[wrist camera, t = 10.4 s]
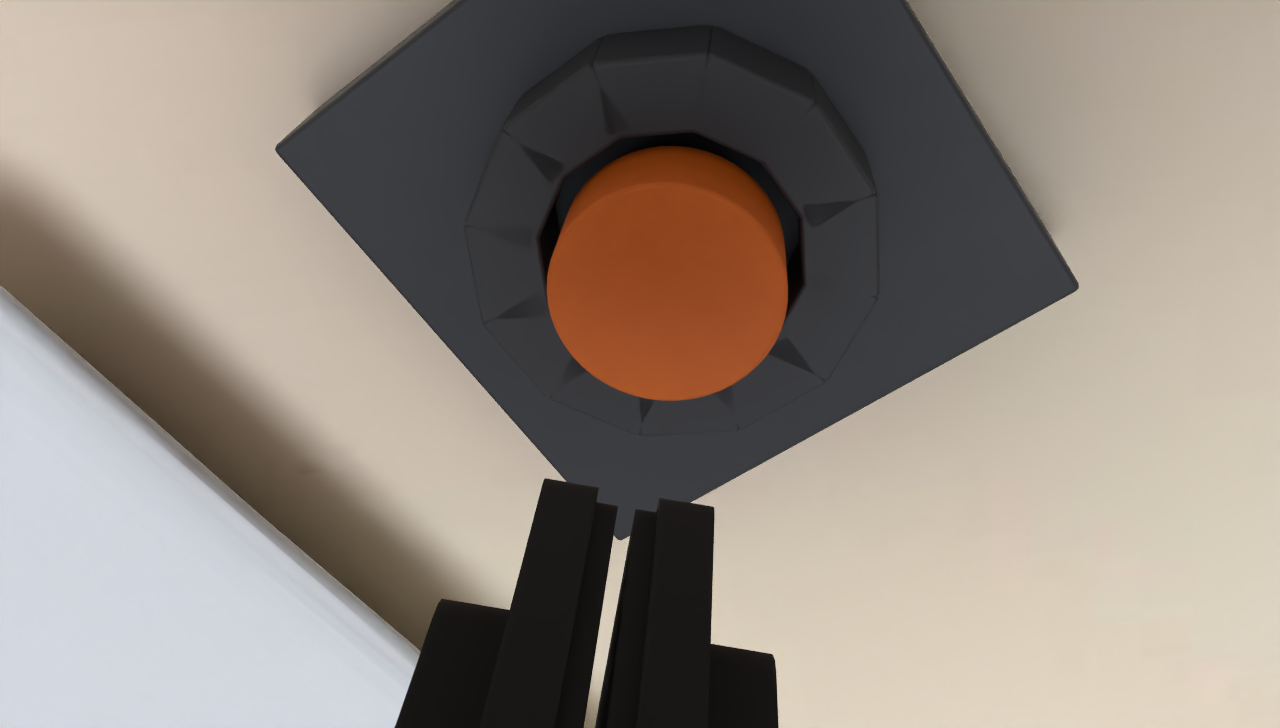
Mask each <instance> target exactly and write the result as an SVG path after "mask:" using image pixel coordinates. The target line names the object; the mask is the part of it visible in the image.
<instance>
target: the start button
mask: <svg viewBox="0 0 1280 728" xmlns="http://www.w3.org/2000/svg"><path fill="white" fill-rule="evenodd" d="M547 299H548V306H549V311H550V315H551V318H552V321H553V324H554V326H555V329H556V331H557V333H558V335H559V337H560V339H561V340H562V342H563V344H564V345H565V347H566V348H567V349H568V351H569V352H570V354H571V355H572V356H573V357H574V358H575V359H576V360H577V362H578V363H579V364H580V365H581V366H582V367H583V368H585V369H586V370H587V371H588V372H589V373H591V374H592V375H593V376H594V377H596V378H597V379H599V380H601V381H602V382H604V383H605V384H607V385H609V386H611V387H613V388H615V389H617V390H619V391H622V392H625V393H628V394H630V395H633V396H637V397H642V398H646V399H653V400H662V401H679V400H688V399H694V398H699V397H703V396H707V395H710V394H713V393H715V392H718V391H721V390H723V389H725V388H727V387H729V386H731V385H733V384H734V383H736V382H737V381H739V380H740V379H742V378H743V377H745V376H746V375H747V374H749V373H750V372H751V371H752V370H753V369H754V368H756V367H757V366H758V365H759V364H760V362H761V361H762V360H763V359H764V358H765V357H766V356H767V354H768V353H769V351H770V350H771V348H772V347H773V345H774V344H775V342H776V340H777V338H778V336H779V334H780V332H781V329H782V326H783V323H784V320H785V316H786V310H787V304H788V281H787V267H786V253H785V242H784V234H783V230H782V226H781V222H780V219H779V217H778V214H777V212H776V210H775V207H774V205H773V204H772V202H771V200H770V199H769V197H768V195H767V194H766V193H765V191H764V190H763V189H762V188H761V186H760V185H759V184H758V183H757V182H756V181H755V180H754V179H753V178H752V177H751V176H750V175H749V174H748V173H747V172H745V171H744V170H742V169H741V168H740V167H738V166H737V165H735V164H734V163H732V162H730V161H728V160H726V159H725V158H723V157H721V156H718V155H716V154H713V153H710V152H708V151H704V150H700V149H696V148H692V147H682V146H658V147H652V148H645V149H642V150H638V151H635V152H631V153H629V154H626V155H624V156H622V157H619V158H617V159H616V160H614V161H612V162H611V163H609V164H607V165H606V166H604V167H603V168H602V169H600V170H599V171H598V172H597V173H595V174H594V175H593V176H592V177H591V178H590V179H589V180H588V181H587V182H586V183H585V184H584V186H583V187H582V188H581V190H580V191H579V193H578V194H577V195H576V197H575V199H574V201H573V203H572V204H571V206H570V208H569V211H568V214H567V216H566V219H565V222H564V224H563V227H562V230H561V233H560V235H559V238H558V241H557V244H556V246H555V249H554V252H553V255H552V258H551V260H550V265H549V270H548V275H547Z"/></svg>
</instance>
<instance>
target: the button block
mask: <svg viewBox="0 0 1280 728" xmlns="http://www.w3.org/2000/svg"><path fill="white" fill-rule="evenodd" d="M658 146H682V147H692V148H696V149H700V150H704V151H708V152H710V153H713V154H716V155H718V156H721V157H723V158H725V159H726V160H728V161H730V162H732V163H734V164H735V165H737V166H738V167H740V168H741V169H742V170H744V171H745V172H747V173H748V174H749V175H750V176H751V177H752V178H753V179H754V180H755V181H756V182H757V183H758V184H759V185H760V186H761V188H762V189H763V190H764V191H765V193H766V194H767V195H768V197H769V199H770V200H771V202H772V204H773V205H774V207H775V210H776V212H777V214H778V217H779V219H780V222H781V226H782V230H783V234H784V242H785V253H786V267H787V281H788V304H787V310H786V316H785V320H784V323H783V326H782V329H781V332H780V334H779V336H778V338H777V340H776V342H775V344H774V345H773V347H772V348H771V350H770V351H769V353H768V354H767V356H766V357H765V358H764V359H763V360H762V361H761V362H760V364H759V365H758V366H757V367H756V368H754V369H753V370H752V371H751V372H750V373H749V374H747V375H746V376H745V377H743V378H742V379H740V380H739V381H737V382H736V383H734V384H733V385H731V386H729V387H727V388H725V389H723V390H721V391H718V392H715V393H713V394H710V395H707V396H703V397H699V398H694V399H688V400H679V401H662V400H653V399H646V398H642V397H637V396H633V395H630V394H628V393H625V392H622V391H619V390H617V389H615V388H613V387H611V386H609V385H607V384H605V383H604V382H602V381H601V380H599V379H597V378H596V377H594V376H593V375H592V374H591V373H589V372H588V371H587V370H586V369H585V368H583V367H582V366H581V365H580V364H579V363H578V362H577V360H576V359H575V358H574V357H573V356H572V355H571V354H570V352H569V351H568V349H567V348H566V347H565V345H564V344H563V342H562V340H561V339H560V337H559V335H558V333H557V331H556V329H555V326H554V324H553V321H552V318H551V315H550V311H549V306H548V299H547V275H548V270H549V265H550V260H551V258H552V255H553V252H554V249H555V246H556V244H557V241H558V238H559V235H560V233H561V230H562V227H563V224H564V222H565V219H566V216H567V214H568V211H569V208H570V206H571V204H572V203H573V201H574V199H575V197H576V195H577V194H578V193H579V191H580V190H581V188H582V187H583V186H584V184H585V183H586V182H587V181H588V180H589V179H590V178H591V177H592V176H593V175H594V174H595V173H597V172H598V171H599V170H600V169H602V168H603V167H604V166H606V165H607V164H609V163H611V162H612V161H614V160H616V159H617V158H619V157H622V156H624V155H626V154H629V153H631V152H635V151H638V150H642V149H645V148H652V147H658ZM275 150H276V152H277V154H278V155H279V156H280V157H281V158H282V159H283V160H284V162H285V163H286V164H287V165H288V166H289V167H290V168H291V170H292V171H293V172H294V173H295V174H296V175H297V176H298V177H299V179H300V180H301V181H302V182H303V183H304V184H305V185H306V187H307V188H308V189H309V190H310V191H311V192H312V193H313V195H314V196H315V197H316V198H317V199H318V200H319V201H320V202H321V204H322V205H323V206H324V207H325V208H326V209H327V210H328V212H329V213H330V214H331V215H332V216H333V217H334V218H335V219H336V221H337V222H338V223H339V224H340V225H341V226H342V227H343V229H344V230H345V231H346V232H347V233H348V234H349V235H350V236H351V238H352V239H353V240H354V241H355V242H356V243H357V244H358V246H359V247H360V248H361V249H362V250H363V251H364V252H365V253H366V255H367V256H368V257H369V258H370V259H371V260H372V261H373V263H374V264H375V265H376V266H377V267H378V268H379V269H380V270H381V272H382V273H383V274H384V275H385V276H386V277H387V278H388V280H389V281H390V282H391V283H392V284H393V285H394V286H395V287H396V289H397V290H398V291H399V292H400V293H401V294H402V295H403V297H404V298H405V299H406V300H407V301H408V302H409V303H410V304H411V306H412V307H413V308H414V309H415V310H416V311H417V312H418V314H419V315H420V316H421V317H422V318H423V319H424V320H425V321H426V323H427V324H428V325H429V326H430V327H431V328H432V329H433V331H434V332H435V333H436V334H437V335H438V336H439V337H440V339H441V340H442V341H443V342H444V343H445V344H446V345H447V346H448V348H449V349H450V350H451V351H452V352H453V353H454V354H455V356H456V357H457V358H458V359H459V360H460V361H461V362H462V363H463V365H464V366H465V367H466V368H467V369H468V370H469V371H470V373H471V374H472V375H473V376H474V377H475V378H476V379H477V380H478V382H479V383H480V384H481V385H482V386H483V387H484V388H485V390H486V391H487V392H488V393H489V394H490V395H491V396H492V397H493V399H494V400H495V401H496V402H497V403H498V404H499V405H500V407H501V408H502V409H503V410H504V411H505V412H506V413H507V414H508V416H509V417H510V418H511V419H512V420H513V421H514V422H515V424H516V425H517V426H518V427H519V428H520V429H521V430H522V431H523V433H524V434H525V435H526V436H527V437H528V438H529V439H530V441H531V442H532V443H533V444H534V445H535V446H536V447H537V448H538V450H539V451H540V452H541V453H542V454H543V455H544V456H545V458H546V459H547V460H548V461H549V462H550V463H551V464H552V465H553V467H554V468H555V469H556V470H557V471H558V472H559V473H560V475H561V476H562V477H563V478H564V479H565V480H566V481H567V482H569V483H575V484H581V485H587V486H593V487H598V488H599V490H598V497H597V502H598V503H604V504H610V505H616V506H618V509H617V516H616V522H615V528H614V536H615V537H616V538H617V539H618V540H623V539H625V538H627V537H628V536H630V534H631V529H632V524H633V518H634V513H635V509H640V510H646V511H652V512H656V509H657V505H658V501H659V498H664V499H670V500H675V501H681V502H687V503H690V502H692V501H694V500H696V499H698V498H699V497H701V496H703V495H705V494H707V493H709V492H710V491H712V490H714V489H716V488H718V487H720V486H721V485H723V484H725V483H727V482H729V481H730V480H732V479H734V478H736V477H738V476H740V475H741V474H743V473H745V472H747V471H749V470H751V469H752V468H754V467H756V466H758V465H760V464H761V463H763V462H765V461H767V460H769V459H771V458H772V457H774V456H776V455H778V454H780V453H782V452H783V451H785V450H787V449H789V448H791V447H792V446H794V445H796V444H798V443H800V442H802V441H803V440H805V439H807V438H809V437H811V436H813V435H814V434H816V433H818V432H820V431H822V430H823V429H825V428H827V427H829V426H831V425H833V424H834V423H836V422H838V421H840V420H842V419H843V418H845V417H847V416H849V415H851V414H853V413H854V412H856V411H858V410H860V409H862V408H864V407H865V406H867V405H869V404H871V403H873V402H874V401H876V400H878V399H880V398H882V397H884V396H885V395H887V394H889V393H891V392H893V391H895V390H896V389H898V388H900V387H902V386H904V385H905V384H907V383H909V382H911V381H913V380H915V379H916V378H918V377H920V376H922V375H924V374H926V373H927V372H929V371H931V370H933V369H935V368H936V367H938V366H940V365H942V364H944V363H946V362H947V361H949V360H951V359H953V358H955V357H957V356H958V355H960V354H962V353H964V352H966V351H967V350H969V349H971V348H973V347H975V346H977V345H978V344H980V343H982V342H984V341H986V340H988V339H989V338H991V337H993V336H995V335H997V334H998V333H1000V332H1002V331H1004V330H1006V329H1008V328H1009V327H1011V326H1013V325H1015V324H1017V323H1019V322H1020V321H1022V320H1024V319H1026V318H1028V317H1029V316H1031V315H1033V314H1035V313H1037V312H1039V311H1040V310H1042V309H1044V308H1046V307H1048V306H1049V305H1051V304H1053V303H1055V302H1057V301H1059V300H1060V299H1062V298H1064V297H1066V296H1068V295H1070V294H1071V293H1073V292H1075V291H1076V290H1077V289H1078V288H1079V284H1078V282H1077V280H1076V278H1075V277H1074V275H1073V273H1072V272H1071V270H1070V268H1069V266H1068V265H1067V263H1066V261H1065V260H1064V258H1063V256H1062V255H1061V253H1060V251H1059V249H1058V248H1057V246H1056V244H1055V243H1054V241H1053V239H1052V238H1051V236H1050V234H1049V233H1048V231H1047V229H1046V228H1045V226H1044V225H1043V223H1042V221H1041V220H1040V218H1039V216H1038V215H1037V213H1036V212H1035V210H1034V208H1033V207H1032V205H1031V203H1030V202H1029V200H1028V198H1027V197H1026V195H1025V194H1024V192H1023V190H1022V189H1021V187H1020V185H1019V184H1018V182H1017V181H1016V179H1015V177H1014V176H1013V174H1012V172H1011V171H1010V169H1009V167H1008V166H1007V164H1006V163H1005V161H1004V159H1003V158H1002V156H1001V154H1000V153H999V151H998V149H997V148H996V146H995V145H994V143H993V141H992V140H991V138H990V136H989V135H988V133H987V132H986V130H985V128H984V127H983V125H982V123H981V122H980V120H979V118H978V117H977V115H976V114H975V112H974V110H973V109H972V107H971V105H970V104H969V102H968V101H967V99H966V97H965V96H964V94H963V92H962V91H961V89H960V87H959V86H958V84H957V83H956V81H955V79H954V78H953V76H952V74H951V73H950V71H949V70H948V68H947V66H946V65H945V63H944V61H943V60H942V58H941V56H940V55H939V53H938V52H937V50H936V48H935V47H934V45H933V43H932V42H931V40H930V38H929V37H928V35H927V34H926V32H925V30H924V29H923V27H922V25H921V24H920V22H919V21H918V19H917V17H916V16H915V14H914V12H913V11H912V9H911V7H910V6H909V4H908V3H907V1H906V0H454V1H452V2H451V3H450V4H449V5H447V6H446V7H445V8H444V9H442V10H441V11H440V12H439V13H437V14H436V15H435V16H434V17H432V18H431V19H430V20H429V21H427V22H426V23H425V24H423V25H422V26H421V27H420V28H418V29H417V30H416V31H415V32H413V33H412V34H411V35H410V36H408V37H407V38H406V39H405V40H403V41H402V42H401V43H400V44H398V45H397V46H396V47H395V48H393V49H392V50H391V51H389V52H388V53H387V54H386V55H384V56H383V57H382V58H381V59H379V60H378V61H377V62H376V63H374V64H373V65H372V66H371V67H369V68H368V69H367V70H366V71H364V72H363V73H362V74H361V75H359V76H358V77H357V78H356V79H354V80H353V81H352V82H350V83H349V84H348V85H347V86H345V87H344V88H343V89H342V90H340V91H339V92H338V93H337V94H335V95H334V96H333V97H332V98H330V99H329V100H328V101H327V102H325V103H324V104H323V105H322V106H320V107H319V108H318V109H316V110H315V111H314V112H313V113H312V114H311V115H310V116H308V117H307V118H306V119H305V120H304V121H303V122H302V123H301V124H300V125H298V126H297V127H296V128H295V129H294V130H293V131H292V132H291V133H290V134H288V135H287V136H286V137H285V138H284V139H283V140H282V141H281V142H280V143H278V144H277V146H276V148H275Z"/></svg>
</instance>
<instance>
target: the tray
mask: <svg viewBox="0 0 1280 728" xmlns="http://www.w3.org/2000/svg"><path fill="white" fill-rule="evenodd" d="M420 653H421V651H420V650H419V649H418V648H416V647H415V646H414V645H413V644H412V643H410V642H409V641H408V640H407V639H406V638H405V637H403V636H402V635H401V634H400V633H399V632H398V631H396V630H395V629H394V628H393V627H392V626H391V625H389V624H388V623H387V622H386V621H385V620H383V619H382V618H381V617H380V616H379V615H378V614H376V613H375V612H374V611H373V610H372V609H371V608H369V607H368V606H367V605H366V604H365V603H363V602H362V601H361V600H360V599H359V598H358V597H356V596H355V595H354V594H353V593H352V592H351V591H349V590H348V589H347V588H346V587H345V586H344V585H342V584H341V583H340V582H339V581H338V580H336V579H335V578H334V577H333V576H332V575H331V574H329V573H328V572H327V571H326V570H325V569H324V568H322V567H321V566H320V565H319V564H318V563H316V562H315V561H314V560H313V559H312V558H311V557H309V556H308V555H307V554H306V553H305V552H304V551H302V550H301V549H300V548H299V547H298V546H297V545H295V544H294V543H293V542H292V541H291V540H289V539H288V538H287V537H286V536H285V535H284V534H282V533H281V532H280V531H279V530H278V529H277V528H275V527H274V526H273V525H272V524H271V523H269V522H268V521H267V520H266V519H265V518H264V517H262V516H261V515H260V514H259V513H258V512H257V511H255V510H254V509H253V508H252V507H251V506H250V505H249V504H247V503H246V502H245V501H244V500H243V499H242V498H241V497H240V496H238V495H237V494H236V493H235V492H234V491H233V490H232V489H231V488H229V487H228V486H227V485H226V484H225V483H224V482H223V481H221V480H220V479H219V478H218V477H217V476H216V475H215V474H214V473H212V472H211V471H210V470H209V469H208V468H207V467H206V466H205V465H203V464H202V463H201V462H200V461H199V460H198V459H197V458H196V457H194V456H193V455H192V454H191V453H190V452H189V451H188V450H186V449H185V448H184V447H183V446H182V445H181V444H180V443H179V442H177V441H176V440H175V439H174V438H173V437H172V436H171V435H170V434H168V433H167V432H166V431H165V430H164V429H163V428H162V427H161V426H159V425H158V424H157V423H156V422H155V421H154V420H153V419H151V418H150V417H149V416H148V415H147V414H146V413H145V412H144V411H142V410H141V409H140V408H139V407H138V406H137V405H136V404H135V403H133V402H132V401H131V400H130V399H129V398H128V397H127V396H126V395H124V394H123V393H122V392H121V391H120V390H119V389H118V388H116V387H115V386H114V385H113V384H112V383H111V382H110V381H109V380H107V379H106V378H105V377H104V376H103V375H102V374H101V373H99V372H98V371H97V370H96V369H95V368H94V367H93V366H92V365H90V364H89V363H88V362H87V361H86V360H85V359H84V358H82V357H81V356H80V355H79V354H78V353H77V352H76V351H75V350H73V349H72V348H71V347H70V346H69V345H68V344H67V343H65V342H64V341H63V340H62V339H61V338H60V337H59V336H58V335H56V334H55V333H54V332H53V331H52V330H51V329H50V328H48V327H47V326H46V325H45V324H44V323H43V322H42V321H41V320H39V319H38V318H37V317H36V316H35V315H34V314H33V313H31V312H30V311H29V310H28V309H27V308H26V307H25V306H23V305H22V304H21V303H20V302H19V301H18V300H17V299H16V298H14V297H13V296H12V295H11V294H10V293H9V292H8V291H6V290H5V289H4V288H3V287H2V286H1V285H0V728H395V725H396V722H397V719H398V716H399V714H400V711H401V708H402V705H403V702H404V699H405V696H406V693H407V690H408V687H409V685H410V682H411V679H412V676H413V673H414V670H415V667H416V664H417V661H418V659H419V656H420Z"/></svg>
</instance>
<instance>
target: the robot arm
mask: <svg viewBox="0 0 1280 728" xmlns="http://www.w3.org/2000/svg"><path fill="white" fill-rule="evenodd" d="M598 490H599V488H598V487H593V486H587V485H581V484H575V483H569V482H563V481H557V480H551V479H544V482H543V485H542V489H541V492H540V496H539V500H538V504H537V508H536V512H535V515H534V519H533V523H532V527H531V531H530V535H529V539H528V542H527V546H526V550H525V554H524V558H523V562H522V565H521V569H520V573H519V577H518V581H517V585H516V588H515V592H514V596H513V600H512V604H511V608H510V610H506V609H500V608H494V607H488V606H482V605H476V604H470V603H464V602H458V601H452V600H446V599H441V600H440V602H439V603H438V605H437V608H436V610H435V613H434V615H433V618H432V621H431V624H430V627H429V630H428V633H427V635H426V638H425V641H424V644H423V647H422V650H421V653H420V656H419V659H418V661H417V664H416V667H415V670H414V673H413V676H412V679H411V682H410V685H409V687H408V690H407V693H406V696H405V699H404V702H403V705H402V708H401V711H400V714H399V716H398V719H397V722H396V725H395V728H584V721H585V715H586V708H587V702H588V695H589V689H590V683H591V676H592V670H593V663H594V657H595V650H596V644H597V638H598V631H599V625H600V618H601V612H602V605H603V599H604V593H605V586H606V580H607V573H608V567H609V561H610V554H611V548H612V541H613V535H614V528H615V522H616V516H617V509H618V506H616V505H610V504H604V503H598V502H597V497H598ZM713 544H714V507H711V506H705V505H699V504H693V503H687V502H681V501H675V500H670V499H664V498H659V501H658V505H657V509H656V512H652V511H646V510H640V509H635V513H634V518H633V524H632V529H631V534H630V540H629V545H628V551H627V556H626V562H625V567H624V572H623V578H622V583H621V589H620V594H619V600H618V605H617V610H616V616H615V621H614V627H613V632H612V638H611V643H610V648H609V654H608V659H607V665H606V670H605V675H604V681H603V686H602V692H601V697H600V703H599V708H598V714H597V720H596V726H595V728H778V707H777V682H776V667H775V659H774V657H773V655H772V654H768V653H762V652H756V651H750V650H744V649H738V648H732V647H726V646H720V645H714V644H710V643H711V610H712V577H713Z"/></svg>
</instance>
